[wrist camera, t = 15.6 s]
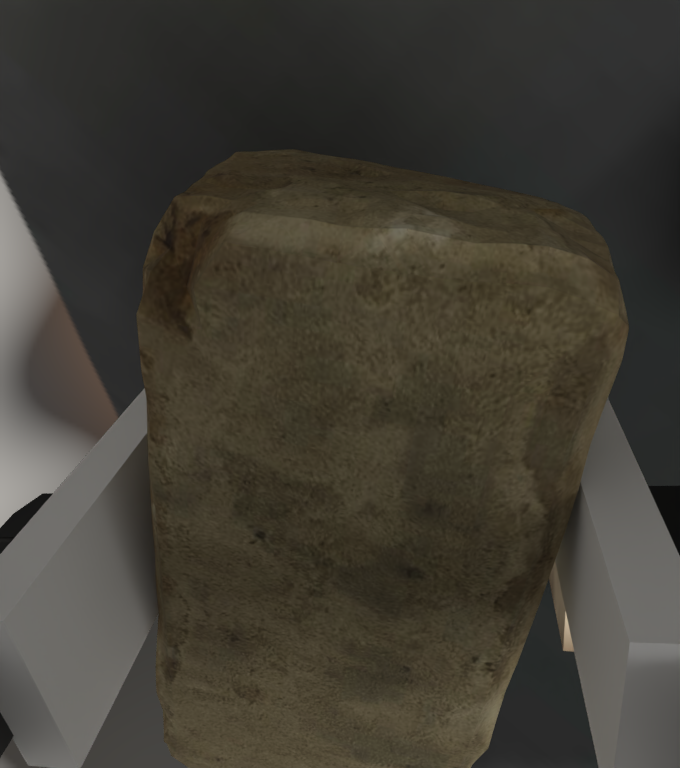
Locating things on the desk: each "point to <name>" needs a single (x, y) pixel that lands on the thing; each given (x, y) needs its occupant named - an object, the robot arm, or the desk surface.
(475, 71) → the desk surface
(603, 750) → the robot arm
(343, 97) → the desk surface
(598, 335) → the stone block
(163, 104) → the desk surface
